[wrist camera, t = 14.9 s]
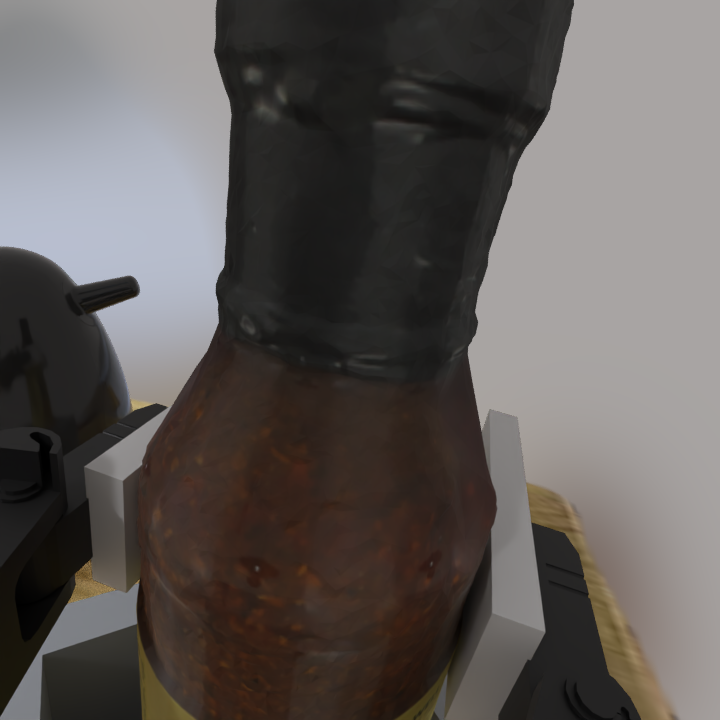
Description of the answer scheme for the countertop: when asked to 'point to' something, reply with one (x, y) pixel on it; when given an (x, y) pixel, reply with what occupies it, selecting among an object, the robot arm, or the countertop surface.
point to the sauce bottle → (339, 362)
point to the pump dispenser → (58, 350)
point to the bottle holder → (94, 666)
